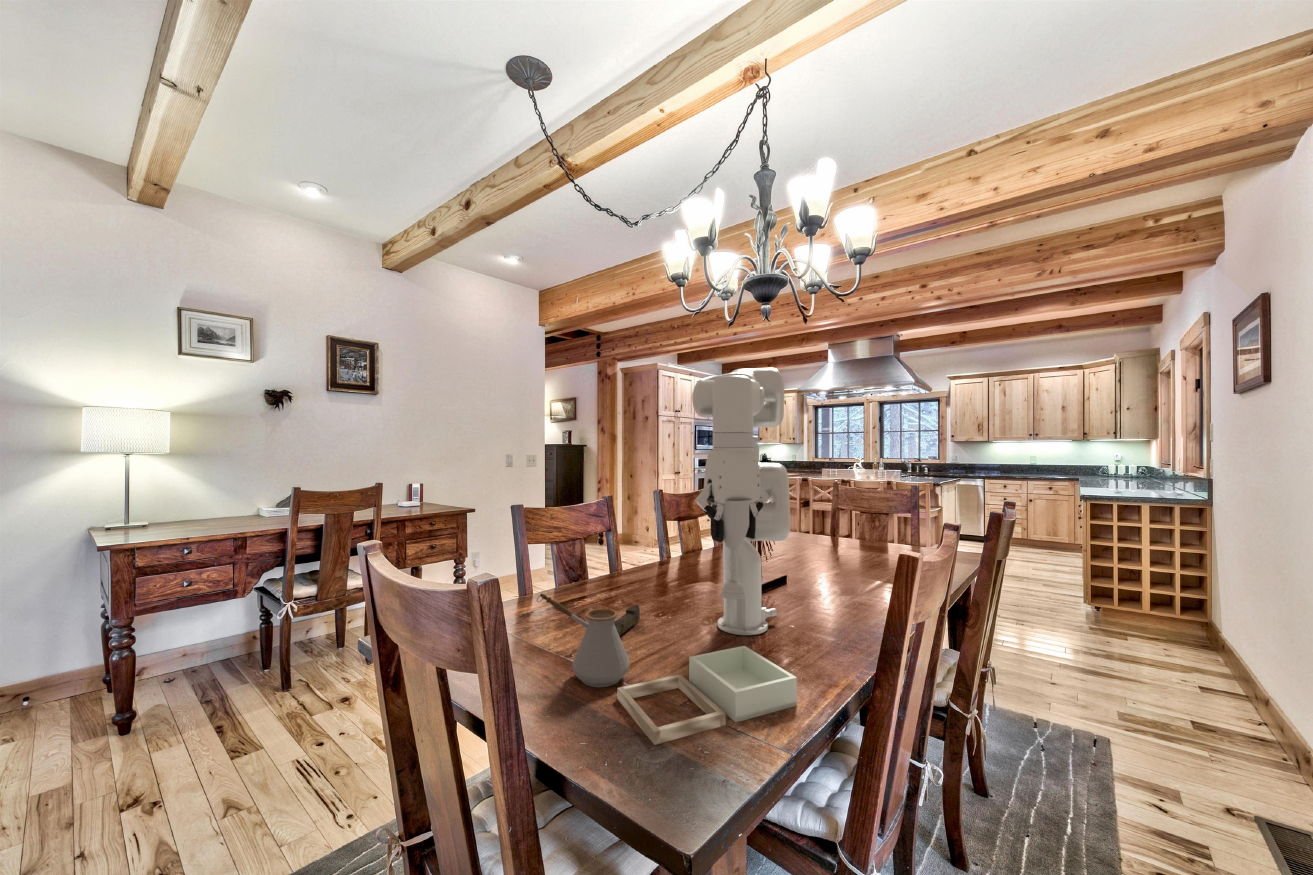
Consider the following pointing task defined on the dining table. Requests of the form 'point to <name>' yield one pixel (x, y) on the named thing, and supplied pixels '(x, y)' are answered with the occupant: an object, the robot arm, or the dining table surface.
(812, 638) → the dining table surface
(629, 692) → the ash frame
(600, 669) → the coffee pot
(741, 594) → the chalice
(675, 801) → the dining table surface
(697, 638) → the dining table surface
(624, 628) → the hand tool
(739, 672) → the sage bin
